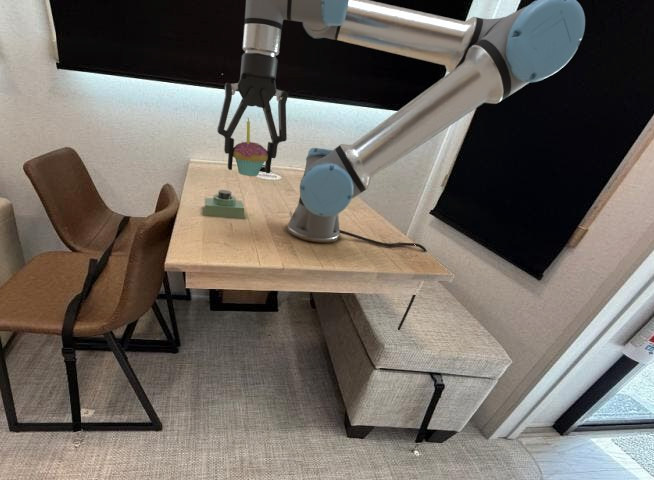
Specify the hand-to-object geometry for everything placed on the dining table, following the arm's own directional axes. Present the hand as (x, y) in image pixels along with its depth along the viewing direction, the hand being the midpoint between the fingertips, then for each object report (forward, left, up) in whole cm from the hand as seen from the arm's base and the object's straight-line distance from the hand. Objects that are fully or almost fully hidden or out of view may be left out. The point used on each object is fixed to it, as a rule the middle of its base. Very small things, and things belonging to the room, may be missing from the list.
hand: (248, 170), depth 79 cm
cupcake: (0, 0, -1) cm, 1 cm away
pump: (+4, -20, -13) cm, 24 cm away
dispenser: (+4, -20, -17) cm, 27 cm away
